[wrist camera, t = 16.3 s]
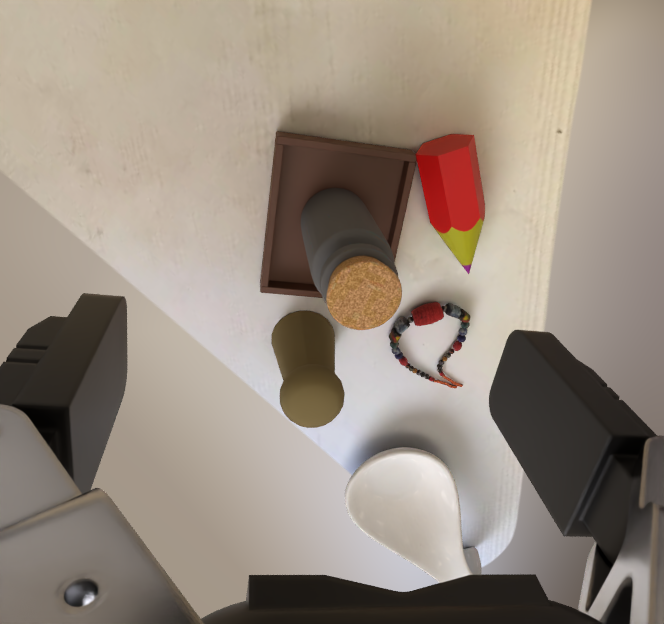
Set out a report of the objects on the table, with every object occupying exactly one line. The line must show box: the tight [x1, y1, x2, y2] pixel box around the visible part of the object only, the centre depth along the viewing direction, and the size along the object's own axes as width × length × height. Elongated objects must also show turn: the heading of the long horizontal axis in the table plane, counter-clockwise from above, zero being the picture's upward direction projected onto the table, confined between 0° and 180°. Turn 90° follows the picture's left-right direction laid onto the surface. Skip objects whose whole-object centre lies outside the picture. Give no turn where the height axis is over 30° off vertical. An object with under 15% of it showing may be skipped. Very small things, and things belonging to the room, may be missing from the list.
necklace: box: [389, 302, 470, 388], centre depth 55 cm, size 8×11×2 cm
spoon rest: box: [345, 447, 481, 583], centre depth 62 cm, size 24×12×7 cm, turn 33°
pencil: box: [416, 134, 485, 274], centre depth 47 cm, size 5×12×4 cm, turn 17°
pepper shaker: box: [272, 311, 344, 428], centre depth 48 cm, size 6×6×11 cm
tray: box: [260, 131, 417, 298], centre depth 47 cm, size 13×11×2 cm
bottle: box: [301, 188, 402, 330], centre depth 41 cm, size 6×6×15 cm
